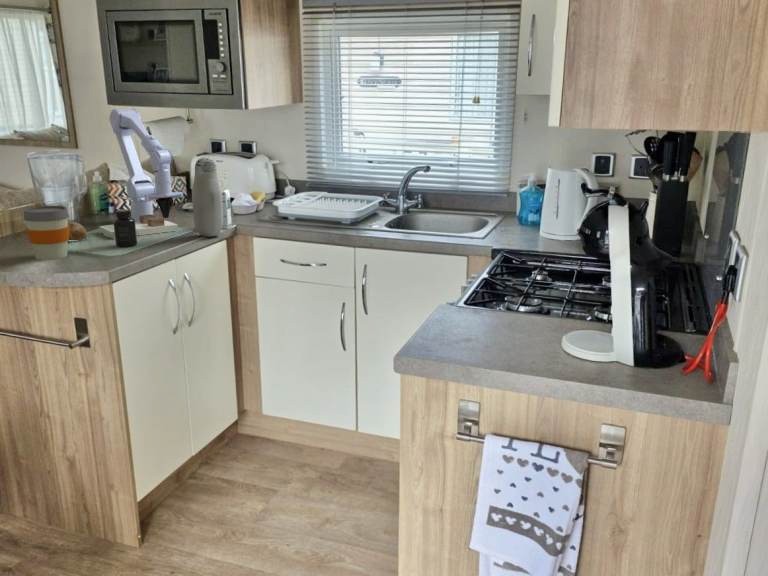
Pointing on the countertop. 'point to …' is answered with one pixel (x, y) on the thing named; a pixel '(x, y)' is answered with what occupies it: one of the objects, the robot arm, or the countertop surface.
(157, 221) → the tile
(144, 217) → the tile
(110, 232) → the tray
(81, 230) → the bread roll
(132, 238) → the supplement bottle
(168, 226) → the board
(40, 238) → the reusable coffee cup
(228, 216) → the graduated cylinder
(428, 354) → the countertop surface
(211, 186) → the grey bottle
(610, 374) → the countertop surface
